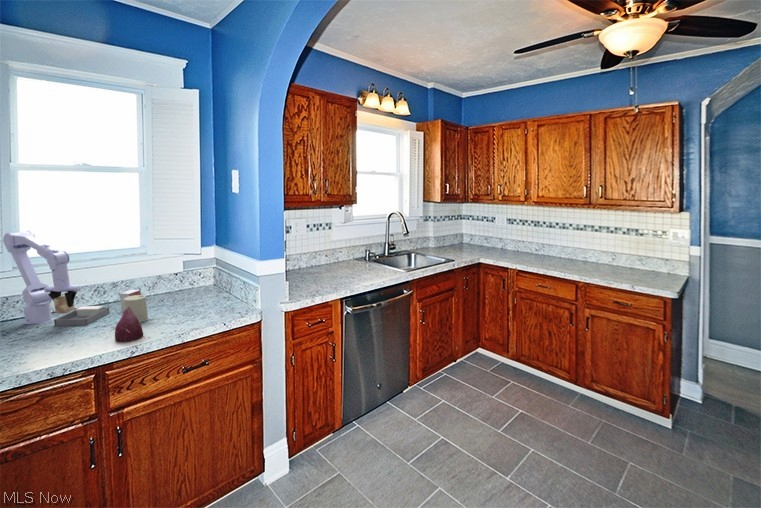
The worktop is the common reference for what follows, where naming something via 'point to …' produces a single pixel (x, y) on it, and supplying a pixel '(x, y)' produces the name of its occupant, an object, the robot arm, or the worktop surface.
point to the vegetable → (128, 327)
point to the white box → (88, 310)
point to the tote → (79, 318)
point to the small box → (127, 294)
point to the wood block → (62, 305)
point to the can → (137, 306)
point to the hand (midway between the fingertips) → (64, 306)
